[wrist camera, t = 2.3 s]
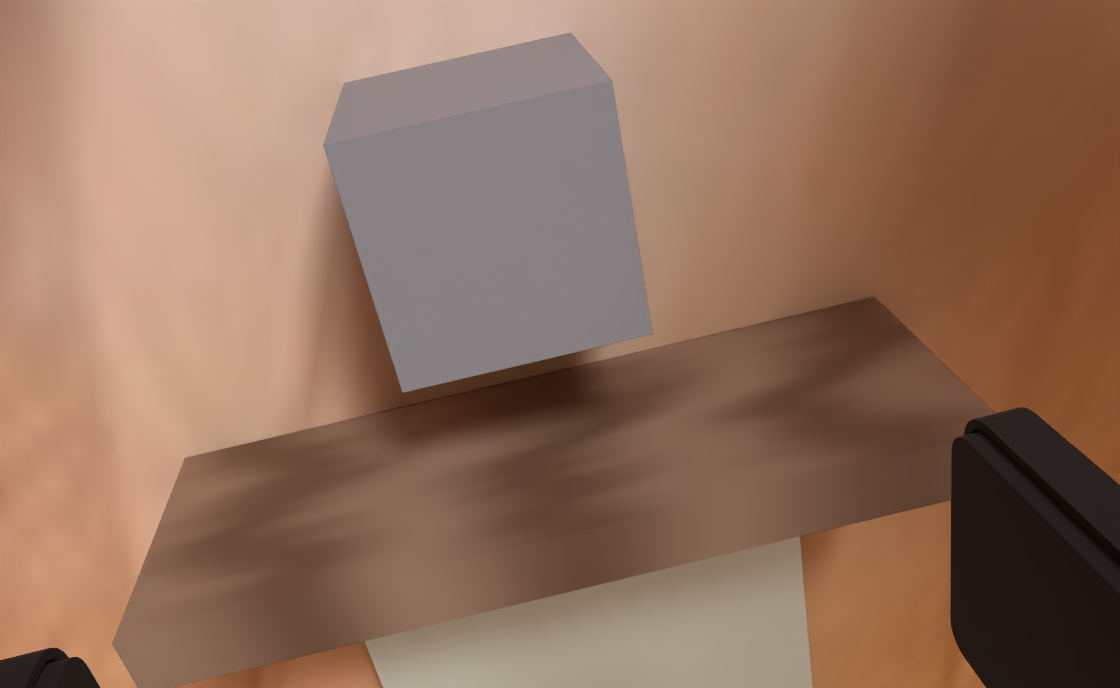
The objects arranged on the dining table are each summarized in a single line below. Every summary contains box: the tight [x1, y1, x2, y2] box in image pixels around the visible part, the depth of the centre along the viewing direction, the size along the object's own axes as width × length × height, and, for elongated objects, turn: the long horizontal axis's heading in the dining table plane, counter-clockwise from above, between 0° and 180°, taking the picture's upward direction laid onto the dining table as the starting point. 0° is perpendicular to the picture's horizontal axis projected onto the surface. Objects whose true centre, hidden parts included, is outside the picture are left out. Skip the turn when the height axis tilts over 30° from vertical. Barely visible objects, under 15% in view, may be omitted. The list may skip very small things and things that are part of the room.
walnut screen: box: [112, 297, 996, 688], centre depth 24 cm, size 20×2×7 cm, turn 101°
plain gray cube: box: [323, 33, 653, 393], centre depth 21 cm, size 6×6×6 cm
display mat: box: [364, 536, 812, 688], centre depth 31 cm, size 14×14×1 cm
